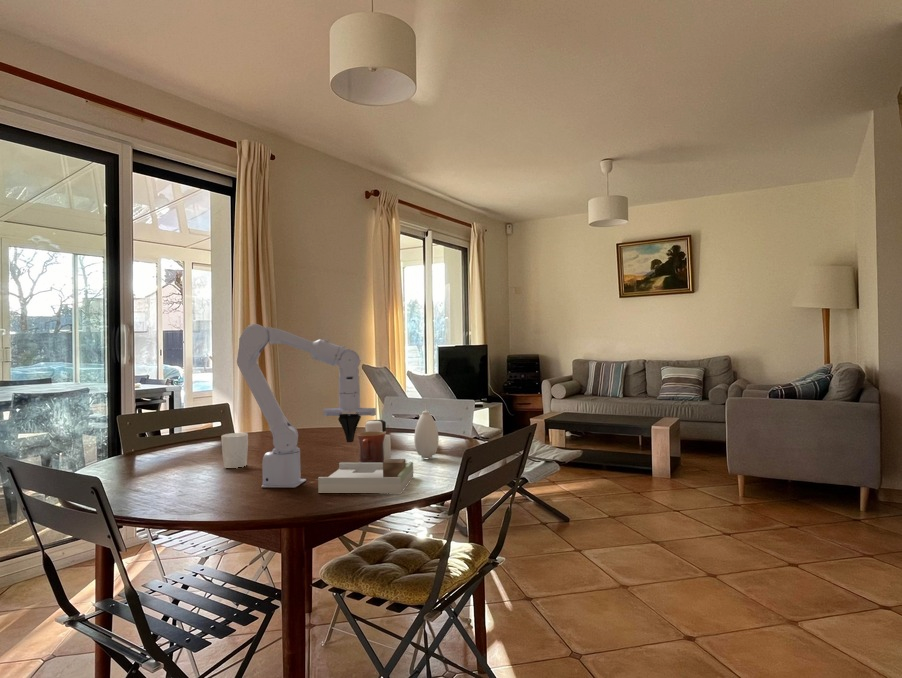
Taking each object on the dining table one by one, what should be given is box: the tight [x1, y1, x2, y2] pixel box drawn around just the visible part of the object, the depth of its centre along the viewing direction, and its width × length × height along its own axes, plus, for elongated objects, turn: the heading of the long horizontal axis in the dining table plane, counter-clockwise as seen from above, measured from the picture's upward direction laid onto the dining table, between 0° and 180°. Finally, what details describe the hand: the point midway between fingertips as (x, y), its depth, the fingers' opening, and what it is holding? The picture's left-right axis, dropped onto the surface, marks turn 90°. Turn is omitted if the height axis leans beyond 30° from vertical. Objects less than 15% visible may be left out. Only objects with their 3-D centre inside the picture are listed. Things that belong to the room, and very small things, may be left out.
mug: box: [356, 431, 387, 463], centre depth 170 cm, size 12×9×10 cm
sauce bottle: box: [413, 403, 440, 459], centre depth 182 cm, size 8×8×18 cm
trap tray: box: [317, 461, 414, 495], centre depth 149 cm, size 21×18×4 cm
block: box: [383, 458, 407, 477], centre depth 149 cm, size 5×5×4 cm
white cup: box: [220, 432, 249, 469], centre depth 177 cm, size 8×8×10 cm
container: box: [364, 419, 392, 461], centre depth 181 cm, size 8×8×13 cm
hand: (350, 441), depth 156 cm, fingers closed
